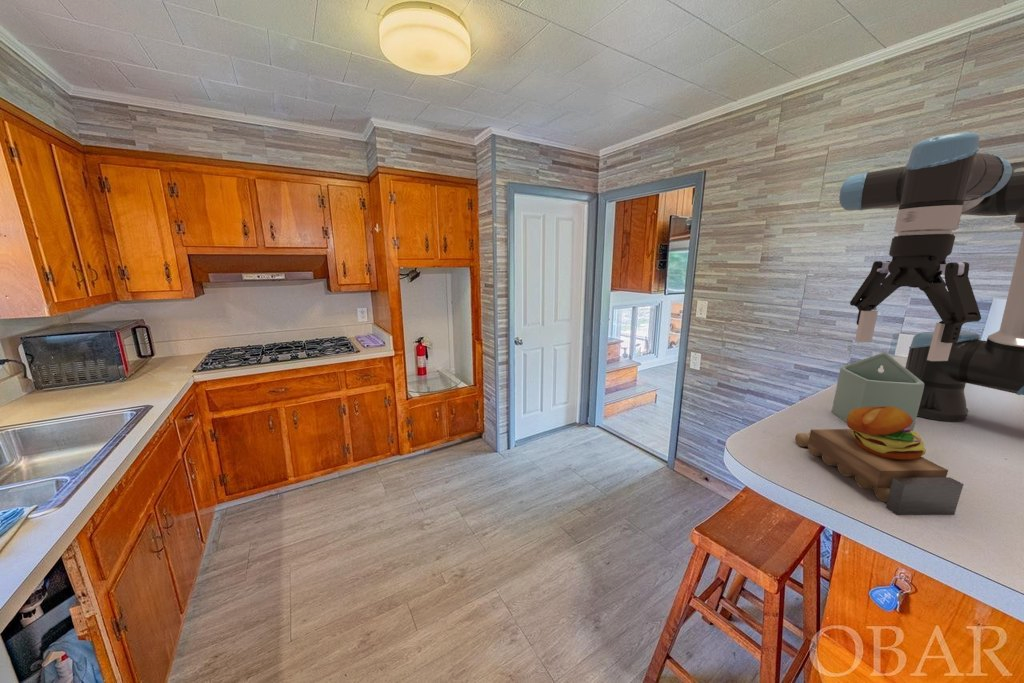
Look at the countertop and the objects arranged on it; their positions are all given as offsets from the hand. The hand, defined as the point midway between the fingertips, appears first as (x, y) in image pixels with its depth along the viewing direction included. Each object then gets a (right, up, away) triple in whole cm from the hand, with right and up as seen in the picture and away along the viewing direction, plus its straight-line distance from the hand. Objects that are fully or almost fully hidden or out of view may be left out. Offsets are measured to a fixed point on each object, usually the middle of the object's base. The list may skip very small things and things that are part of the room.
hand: (896, 350), depth 69 cm
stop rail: (0, -28, -4) cm, 29 cm away
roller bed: (0, -25, +9) cm, 27 cm away
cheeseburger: (+1, -20, +4) cm, 20 cm away
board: (0, -23, +5) cm, 24 cm away
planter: (+20, -21, +28) cm, 40 cm away
